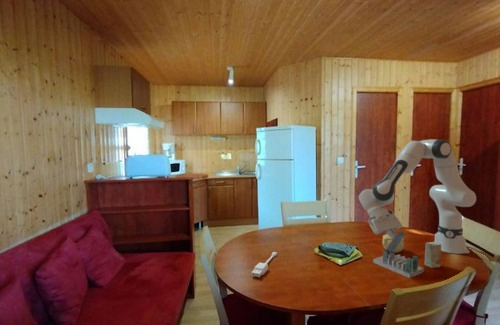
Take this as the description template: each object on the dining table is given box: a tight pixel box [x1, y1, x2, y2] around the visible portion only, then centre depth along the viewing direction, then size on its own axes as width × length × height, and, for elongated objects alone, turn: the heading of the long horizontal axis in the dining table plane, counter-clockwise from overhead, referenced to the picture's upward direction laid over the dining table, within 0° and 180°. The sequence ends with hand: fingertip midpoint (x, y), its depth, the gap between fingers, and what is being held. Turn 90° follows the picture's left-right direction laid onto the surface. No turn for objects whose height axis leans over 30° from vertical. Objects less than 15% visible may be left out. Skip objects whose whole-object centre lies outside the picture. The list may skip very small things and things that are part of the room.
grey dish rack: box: [372, 249, 425, 279], centre depth 141 cm, size 20×12×8 cm, turn 29°
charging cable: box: [251, 251, 278, 278], centre depth 147 cm, size 5×32×3 cm, turn 157°
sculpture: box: [382, 233, 405, 253], centre depth 163 cm, size 12×12×11 cm
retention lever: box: [385, 231, 406, 255], centre depth 142 cm, size 2×4×15 cm, turn 119°
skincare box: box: [424, 241, 442, 269], centre depth 142 cm, size 6×4×12 cm
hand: (395, 238), depth 141 cm, fingers closed, pressing on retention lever
